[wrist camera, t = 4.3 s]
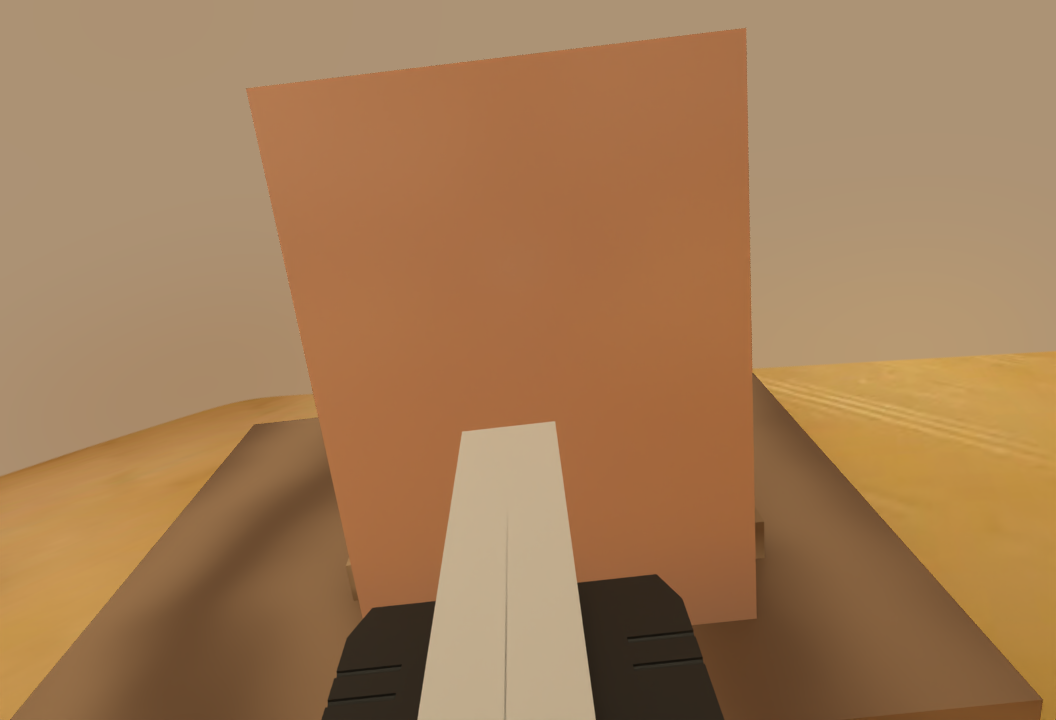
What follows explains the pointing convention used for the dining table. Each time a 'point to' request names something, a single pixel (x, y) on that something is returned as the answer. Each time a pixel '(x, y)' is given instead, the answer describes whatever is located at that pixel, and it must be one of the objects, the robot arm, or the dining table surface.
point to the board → (334, 612)
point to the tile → (531, 299)
